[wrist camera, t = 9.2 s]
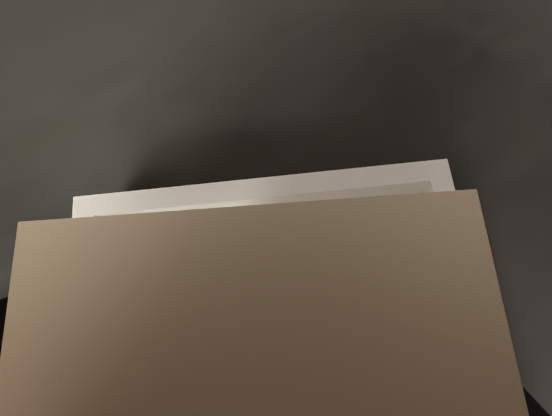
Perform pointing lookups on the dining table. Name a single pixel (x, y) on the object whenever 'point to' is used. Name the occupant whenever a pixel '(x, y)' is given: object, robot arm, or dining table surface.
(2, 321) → the robot arm
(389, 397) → the birch block
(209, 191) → the tray
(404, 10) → the dining table surface
